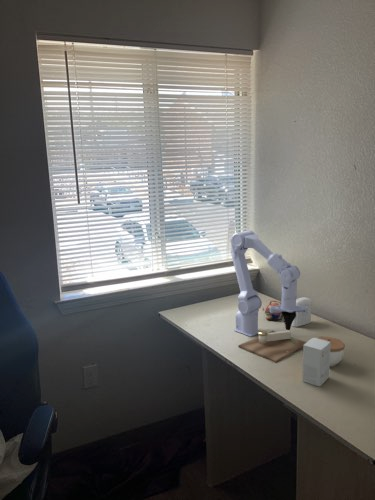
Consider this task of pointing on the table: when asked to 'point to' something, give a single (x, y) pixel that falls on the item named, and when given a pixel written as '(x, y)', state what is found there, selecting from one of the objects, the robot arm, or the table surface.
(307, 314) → the photo printer
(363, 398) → the table surface
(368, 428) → the table surface
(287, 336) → the peg lever
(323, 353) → the small box
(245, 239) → the robot arm
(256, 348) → the board
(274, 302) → the pencil case
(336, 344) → the lidded jar
